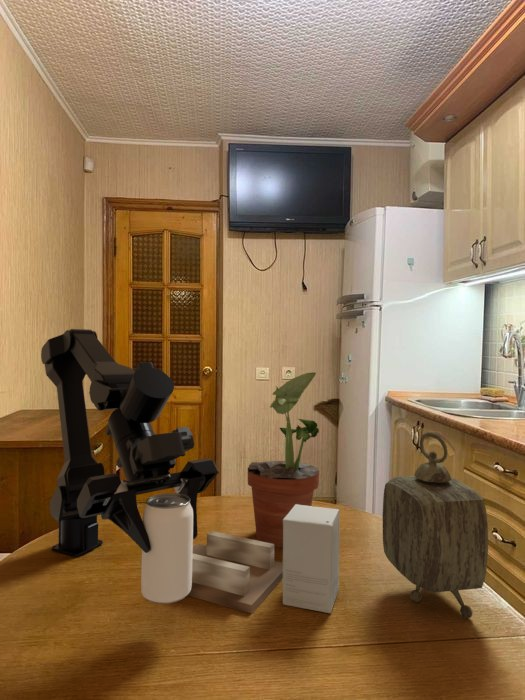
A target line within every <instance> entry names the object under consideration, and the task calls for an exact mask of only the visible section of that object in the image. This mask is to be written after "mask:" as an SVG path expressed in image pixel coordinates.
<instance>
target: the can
mask: <svg viewBox="0 0 525 700" xmlns="http://www.w3.org/2000/svg"><path fill="white" fill-rule="evenodd" d="M145 502H146V506H145V507H144V510H143V513H142V521H143V524H144V527H145V529H146V532H147V534H148V538H149V542H150V546H151V550H150V551H149V552H147V553H145V552H144V551H143V550H142V549H141V570H140V571H141V573H140V574H141V575H140V576H141V577H140V578H141V579H140V580H141V582H140V584H141V585H140V586H141V588H140V590H141V591H140V592H141V595H142V596H143V597H144V599H145V600H147V601H149V602H150V603H153V604H158V605H159V604H160V605H164V604H165V605H166V604H167V605H168V604H172V603H176V602H179V601H181V600H183V599H185V598H186V597H188V596H187V595H188V594H189V592H190V591H191V587H192V558H193V546H194V539H193V509H192V506H191V504H190V498H189V497H188V496H186V495H183V494H178V493H176V492H173V493H172V492H170V493H169V492H166V493H159V494H155V495H152V496H149V497H148V498H147V499H146V501H145Z"/></svg>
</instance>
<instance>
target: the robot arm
mask: <svg viewBox="0 0 525 700" xmlns="http://www.w3.org/2000/svg"><path fill="white" fill-rule="evenodd" d="M40 357H41V358H40V359H41V363H42V364H43V365H44V370H45V376H47V378H48V379H49V380H50V381H51V382H52V384H54V386H55V387H56V393H57V401H58V402H57V403H58V411H59V421H60V431H61V438H62V439H61V440H62V446H63V448H62V449H63V457H64V464H63V465H62V468H61V469H60V472H59V473H58V475H57V479H56V484H57V485H56V488H55V490H54V492H53V495H52V496H51V499H50V502H49V510H50V511H49V512H50V516H51V517H52V518H54V519H55V521H56V522H57V523H58V543H56V544H54V545H52V546H51V551H55V552H59V553H62V554H66V555H70V556H73V557H79V556H81V555H83V554H86V553H87V552H89V551H91V550H94V549H95V548H98V547H99V546H101V545H103V543H104V540H102V539H99V522H98V516H100V518H101V520H109V521H110V522H112V523H113V524H114V525H116V526H117V527H118V528H119V529H120V530H122V531H123V532H124V533H125V534H126V535H127V536H128V537H129V538H130V539H131V540H132V541H133V542H134V543H135V544H136V545H137V546H138V547H139V548H140V549H141V551H142V550H143V551H144V552H145V553H147V552H149V551H150V550H151V546H150V542H149V538H148V534H147V532H146V529H145V527H144V524H143V518H142V517H141V516H142V515H141V514H140V511H139V508H138V502H137V496H138V495H143V494H148V493H154V492H159V491H163V490H167V489H168V490H169V489H174V493H178V494H183V495H186V496H188V497H189V498H190V504H191V506H192V509H193V540H195V539H197V537H198V512H197V511H198V509H197V504H198V503H197V502H198V494H200V493H202V492H204V491H206V489H207V488H208V487H209V485H210V484H211V483H212V482H213V480H214V479H215V478H216V476H217V475H218V474H219V469H218V467H217V465H216V463H215V461H214V460H213V459H211V458H208V457H207V458H201V459H194V460H188V461H187V463H186V464H185V465H184V467H183V468H182V470H181V471H179V472H173V473H171V472H170V470H171V469H174V468H175V466H176V465H177V461H176V459H177V458H180V457H185V456H186V455H187V454H186V453H187V452H188V451H190V450H193V449H194V447H195V441H194V435H193V432H192V431H191V430H190V428H189V426H183V427H182V426H181V427H177V428H176V429H173V430H172V432H165V433H157V434H155V430H154V427H153V426H152V422H154V421H156V420H158V418H159V416H160V415H161V413H162V411H163V410H164V408H165V406H166V405H167V404H168V403H167V402H169V399H170V397H171V396H172V394H173V392H174V390H175V384H174V380H173V379H172V378H171V377H170V376H169V375H168V374H166V373H165V372H164V371H162V370H160V369H158V368H156V367H154V366H153V363H152V362H138V363H137V365H136V368H135V369H133V368H131V367H129V366H127V365H122V364H119V363H118V362H117V361H116V360H115V359H114V358H113V356H112V355H111V354H110V352H109V351H108V350H107V349H106V347H105V346H104V345H103V344H102V342H101V341H100V340H99V339H98V334H97V332H96V331H95V330H92V329H83V328H71V329H67V330H65V332H64V333H62V334H60V335H57V336H54V337H51V338H49V339H48V340H46V342H45V343H44V345H42V347H41V351H40ZM85 376H87V377H88V379H89V380H90V384H89V392H88V393H89V397H90V402H91V403H92V404H93V406H94V407H95V408H96V409H97V410H98V411H99V412H101V411H112V412H111V414H110V416H109V417H108V419H107V424H108V425H107V426H106V430H105V431H106V432H105V433H106V436H111V437H112V440H113V442H114V443H113V444H114V446H115V449H116V452H117V455H118V458H117V460H116V461H115V462H116V466H117V468H118V469H119V468H122V470H123V473H124V475H125V476H124V477H125V479H122V480H121V478H120V476H119V474H116V473H110V474H109V473H108V474H105V466H104V465H103V463H102V462H98V461H97V460H96V459H95V458H94V457H93V453H92V446H91V438H90V431H89V422H88V415H87V413H88V412H87V406H86V399H85V392H84V391H85V389H84V382H83V381H84V379H85Z"/></svg>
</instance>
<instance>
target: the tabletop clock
mask: <svg viewBox="0 0 525 700" xmlns="http://www.w3.org/2000/svg"><path fill="white" fill-rule="evenodd" d="M427 437H429V438H433V439H435V440H437V441H438V442H439V443H440V445H441V447H442V449H443V456H442V457H441V458H438V457H437V456H438V454H437V452H436V451H430V452H429V453H428V452H427V450H425V448H424V447H425V446H424V441H425V439H426V438H427ZM419 445H420V451H421V453H422V454H423V456H424V458H426V459H427V460H428V462H424V463H421V464H420V465H419V466H418V467H417V468H416V469H415V472H414V474H413V475H398V476H394V477H393V478H391V479H390V480H389V481H387V482H386V483H385V485H384V490H383V498H382V499H383V500H382V546H383V553H384V556H386V558H387V561H389V563H390V564H391V565H393V567H394V569H396V570H397V571H398V572H399V573H400V574H401V575H402V576H403V578H405V579H407V580H408V581H409V582H410V584H411V583H412V584H413V585H414V586H415V589H413V590H411V592H410V594H409V595H410V599H411V601H413V602H415V603H419V602H421V600H422V597H423V596H422V593H421V591H420V590H421V589H423V590H425V591H427V592H429V593H444V592H446V593H447V592H450V593H451V594H452V595H453V596H454V598H455V599H456V601H457V602H458V604H459V605H460V609H459V612H460V615H461V617H463V618H465V619H470V618H472V616H473V610H472V608H471V607H470V606H468V605H465V603H464V600H463V599H462V596H461V594H460V591H464V590H465V591H466V590H474V589H475V590H476V589H482V588H483V587H484V584H485V580H486V576H487V567H488V555H489V530H488V529H489V527H488V514H487V508H486V503H485V500H484V498H483V497H482V496H481V494H480V493H478V492H477V490H475V489H474V488H472V487H470V486H469V485H467V484H465V483H463V481H460V480H459V479H456V478H453V477H451V475H450V473H449V470H447V468H446V467H445V466H444V465H442V464H441V463H444V461H446V460H447V458H448V446H447V444H446V442H445V440H444V439H443V438H442V436H440V435H439V434H437V433H435V432H429V431H426V432H425V433H423V434H422V435H421V437H420V440H419Z"/></svg>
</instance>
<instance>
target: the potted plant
mask: <svg viewBox="0 0 525 700" xmlns="http://www.w3.org/2000/svg"><path fill="white" fill-rule="evenodd" d="M316 374H317V372H305V373H303V374H300V375H298V376H296V377H293V378H292V379H290V380H288V381H286V382H284V384H283V385H281V386H279V387H277V386H275V387H276V389H275V390H274V391H273V393H271V394H272V395H273V396H275V398H274V400H273V401H272V402H271V403H270V406H269V409H270V408H273V410H274V411H275V412H276V413H277V414H278V415H279V414H280V415H285V419H286V427H279V430H280V431H281V433H282V434H283V435H284V437H285V443H284V444H285V450H284V451H285V455H284V457H285V458H284V459H285V460H271V461H267V460H266V461H260V462H257V461H256V462H252V461H251V463H250V464H248V467H247V485H248V486H249V487H251V495H252V496H251V497H252V505H253V513H254V514H253V515H254V523H255V525H254V526H255V535H256V540H257V541H262V542H267V543H271V544H274V547H283V519H284V518H285V517H286V515H287V514H288V513H289V512H290V511H291V509H292V508H293V507H294V506H295V504H298V505H306V506H312V505H313V504H312V503H313V498H314V491H315V490H317V489H318V488H319V484H320V470H319V469H318V467H315V466H313V465H311V464H307V463H305V462H304V463H303V462H301V456H302V453H303V452H302V451H303V447H304V443H307V441H308V440H309V439H311V438H316V437H317V436H318V434H319V432H320V429H319V428H318V423H317V422H316V421H314V420H310V419H303V418H298V419H297V420H299V421H300V422H301V423H302V424H303V425H304V426H303V427H301V426H300V425H298V424H297V425H296V426H295V428H292V424H291V419H290V411H291V410H293V408H294V407H295V406H296V405H297V403H298V402H299V400H300V398H301V397H302V395H303V393H304V392H305V390H306V389H307V388H308V386H309V385H310V383H312V381H313V379H314V378H315V377H316ZM295 433H296V434H295ZM293 434H295V438H296V439H295V440H297V441H300V440H301V443H300V446H299V452H298V455H297V458H296V460H295V454H294V443H293V441H294V440H293ZM310 434H311V435H310Z"/></svg>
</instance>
